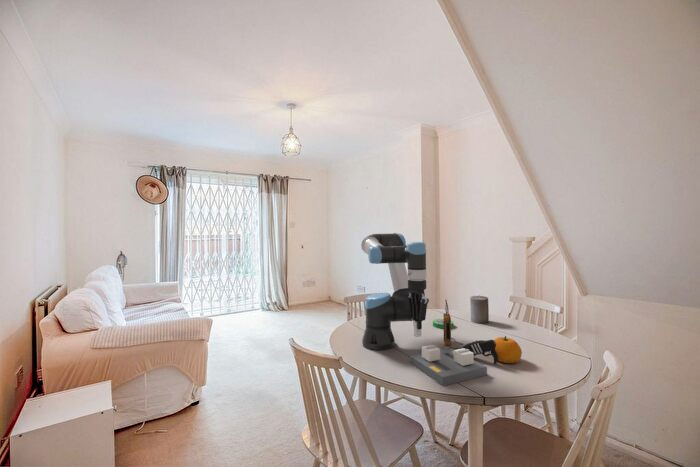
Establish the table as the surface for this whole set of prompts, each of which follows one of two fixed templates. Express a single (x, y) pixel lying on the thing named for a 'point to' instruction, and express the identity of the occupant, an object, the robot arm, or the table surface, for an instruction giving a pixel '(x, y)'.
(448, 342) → the brown upright pointed stick
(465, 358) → the tab
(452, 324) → the tape roll
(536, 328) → the table surface
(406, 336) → the table surface
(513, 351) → the fruit
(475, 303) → the pillar candle
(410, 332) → the table surface
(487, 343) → the gun
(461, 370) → the switch panel
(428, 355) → the tab
